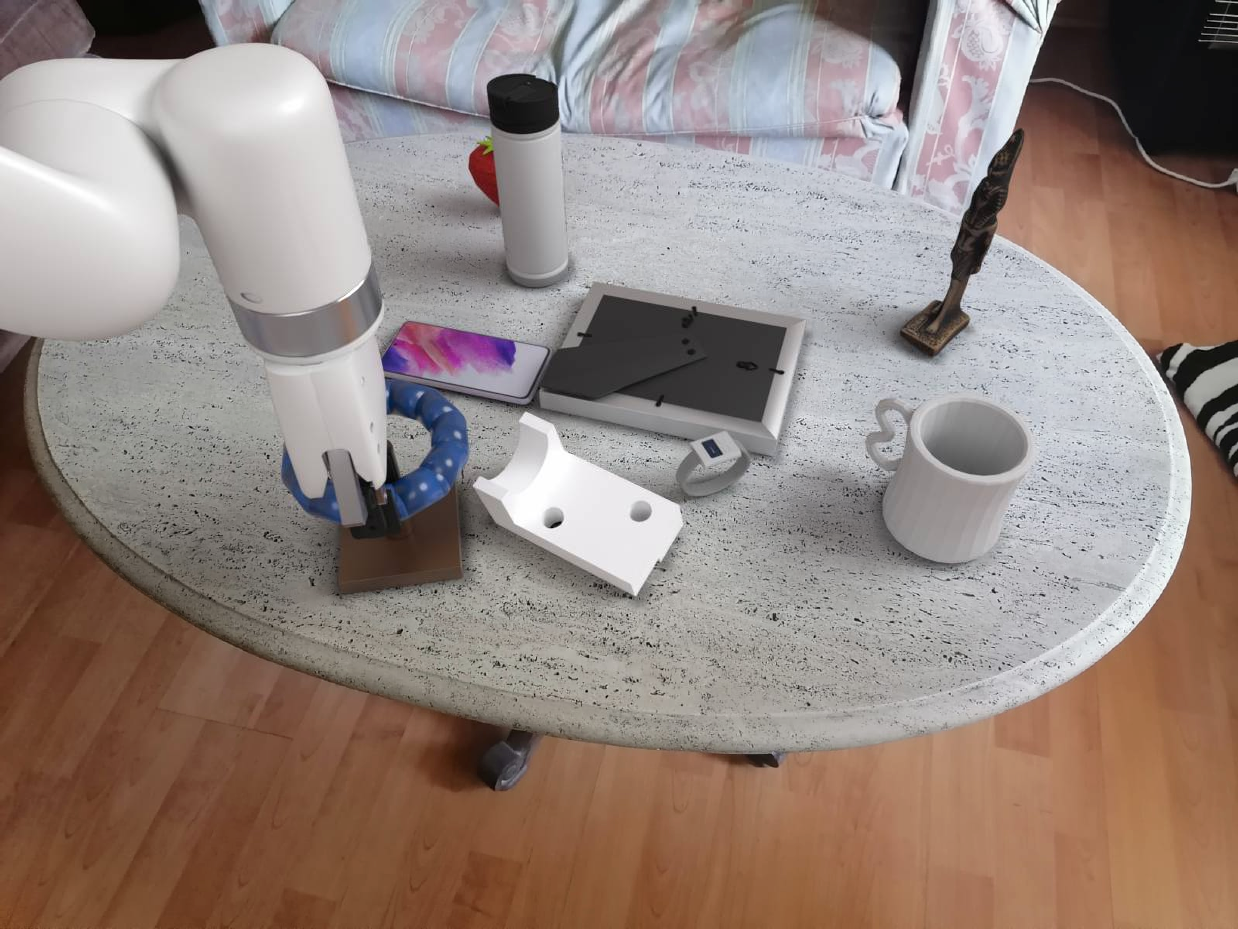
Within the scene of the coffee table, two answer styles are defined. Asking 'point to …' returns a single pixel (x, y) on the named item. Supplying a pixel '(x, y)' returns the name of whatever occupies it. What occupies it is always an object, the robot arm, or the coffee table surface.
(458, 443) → the blue spotted ring
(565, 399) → the picture frame
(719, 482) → the wristwatch
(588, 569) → the bracket
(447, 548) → the peg stand
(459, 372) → the smartphone
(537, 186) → the travel mug
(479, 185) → the strawberry
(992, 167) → the statue
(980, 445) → the mug
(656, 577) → the coffee table surface
